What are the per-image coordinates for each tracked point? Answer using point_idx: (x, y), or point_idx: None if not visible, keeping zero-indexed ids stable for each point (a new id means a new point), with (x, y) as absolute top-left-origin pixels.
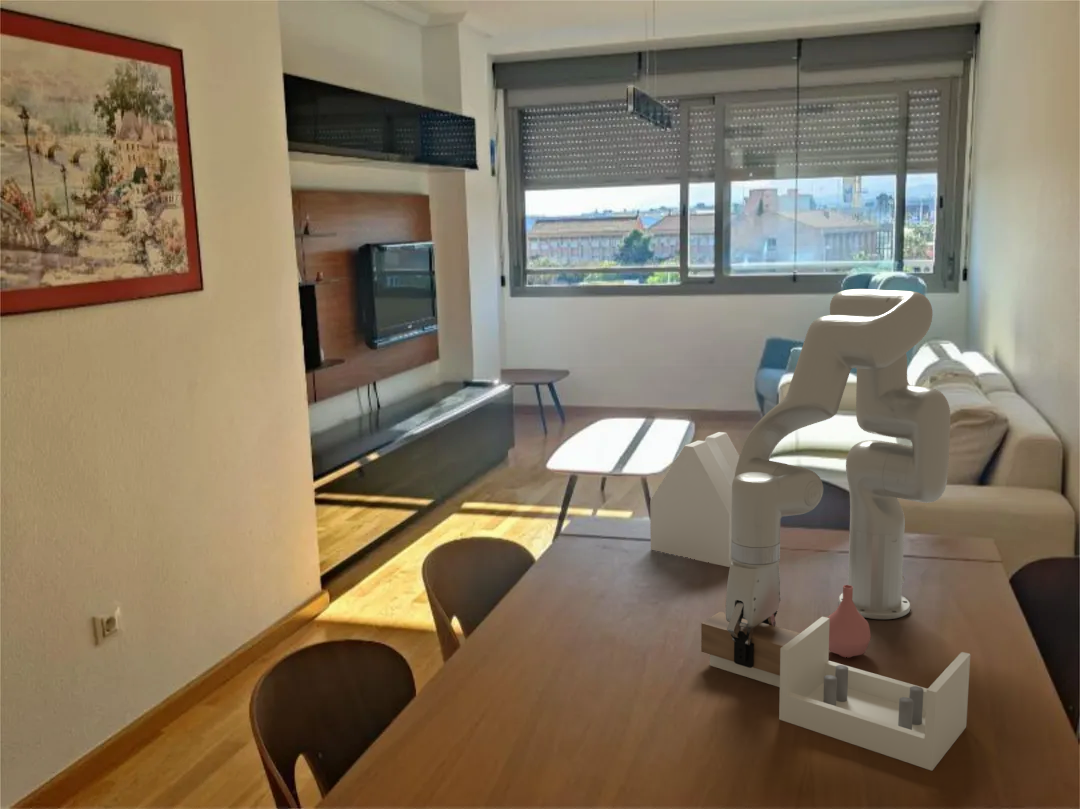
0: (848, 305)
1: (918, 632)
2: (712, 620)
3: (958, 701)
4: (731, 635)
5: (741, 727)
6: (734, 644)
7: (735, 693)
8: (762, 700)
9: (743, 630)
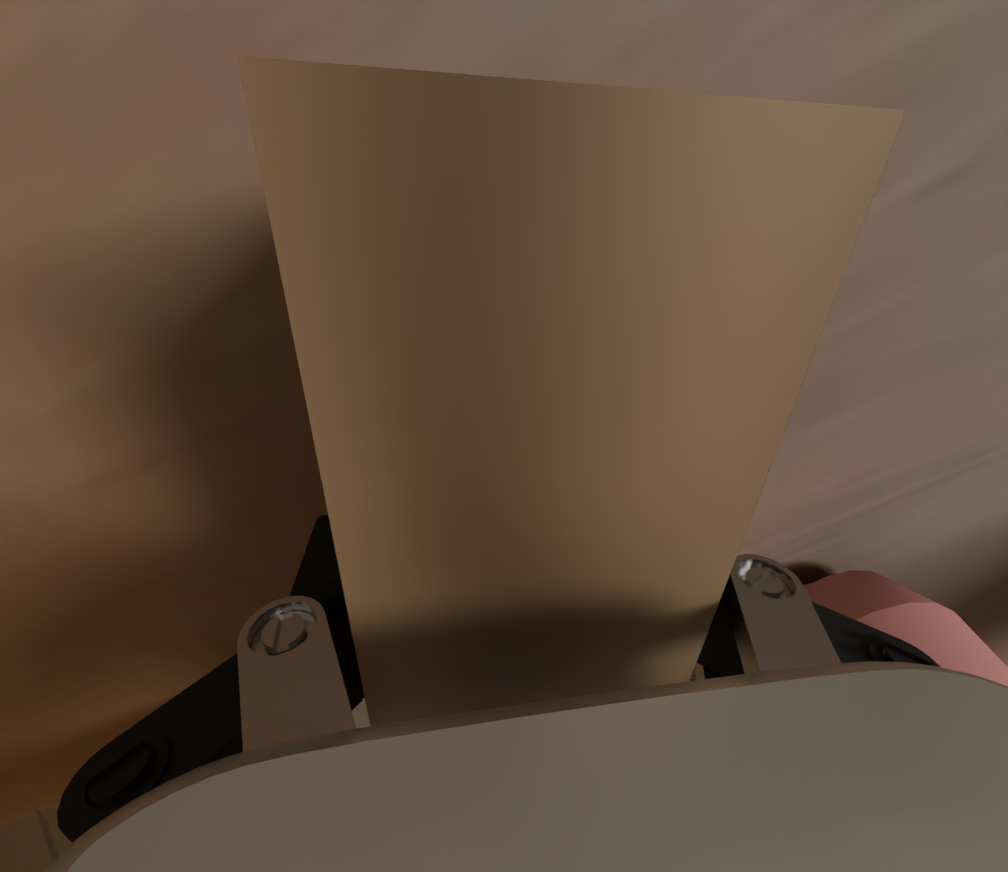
0: None
1: (995, 650)
2: (495, 198)
3: None
4: (88, 764)
5: (14, 643)
6: (328, 548)
7: (237, 491)
8: (284, 590)
9: (454, 634)
